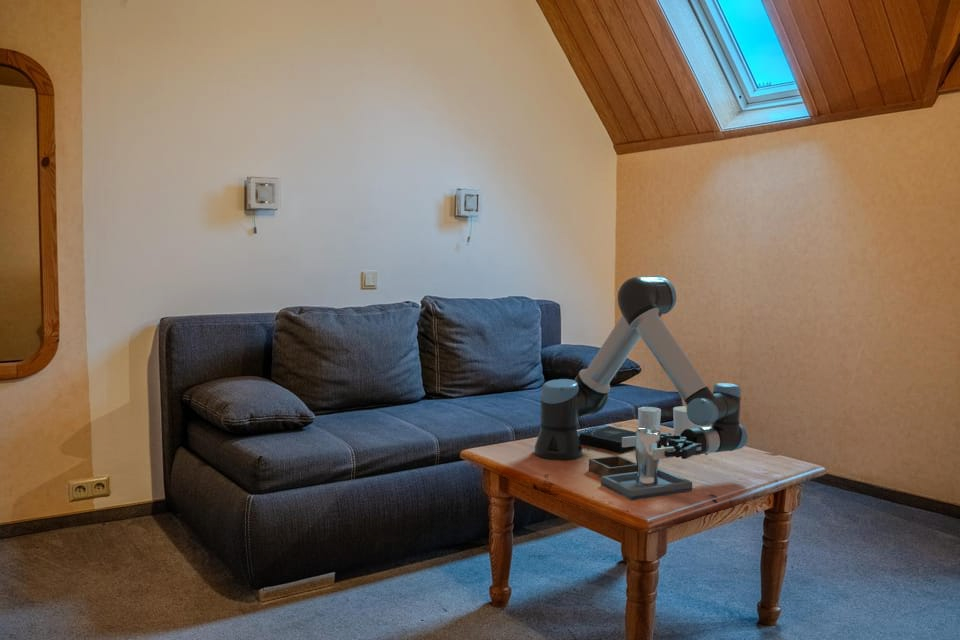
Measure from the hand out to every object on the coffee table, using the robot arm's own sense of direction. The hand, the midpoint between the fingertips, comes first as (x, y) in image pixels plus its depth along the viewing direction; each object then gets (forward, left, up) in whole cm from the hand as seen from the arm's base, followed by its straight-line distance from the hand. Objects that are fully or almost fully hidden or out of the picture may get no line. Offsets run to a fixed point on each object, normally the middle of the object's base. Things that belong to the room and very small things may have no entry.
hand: (637, 448), depth 202 cm
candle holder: (-35, +47, -12) cm, 60 cm away
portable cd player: (-44, +23, -12) cm, 51 cm away
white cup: (-48, +41, -12) cm, 64 cm away
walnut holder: (-15, +3, -11) cm, 19 cm away
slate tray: (0, +3, -11) cm, 12 cm away
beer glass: (0, +3, -11) cm, 11 cm away
